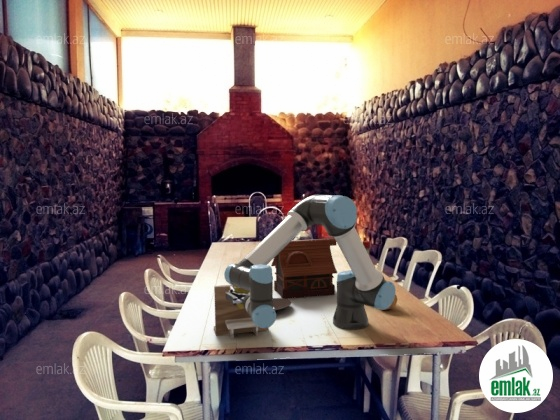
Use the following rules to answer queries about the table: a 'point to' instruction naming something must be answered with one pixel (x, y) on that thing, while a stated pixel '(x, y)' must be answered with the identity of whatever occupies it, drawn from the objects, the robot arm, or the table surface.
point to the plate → (281, 303)
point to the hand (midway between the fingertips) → (243, 288)
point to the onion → (393, 303)
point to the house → (305, 269)
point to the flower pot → (241, 291)
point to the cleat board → (231, 315)
